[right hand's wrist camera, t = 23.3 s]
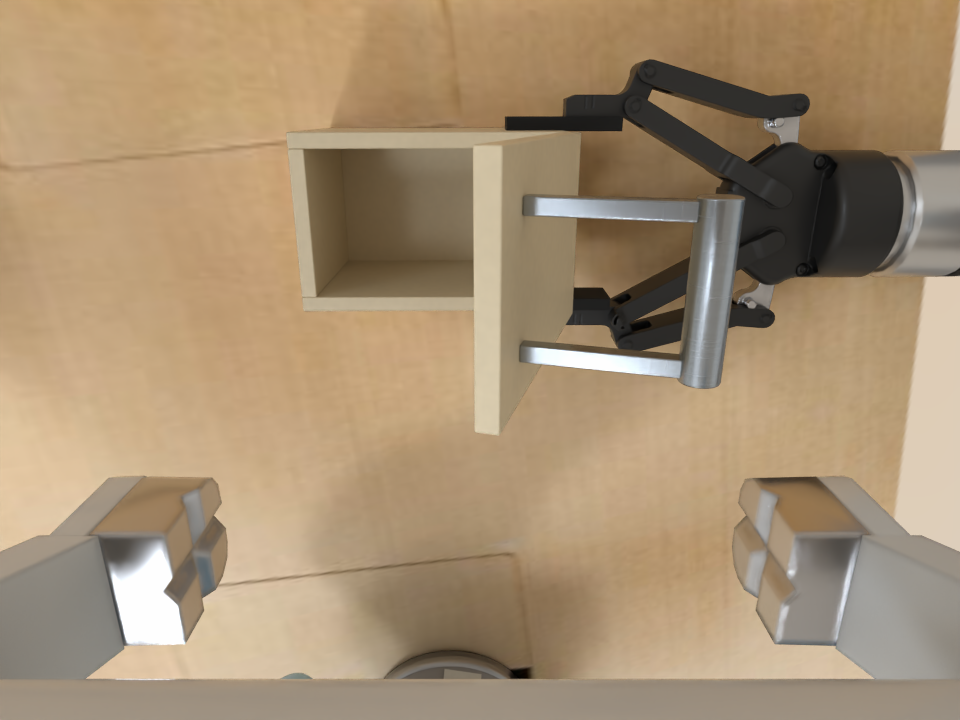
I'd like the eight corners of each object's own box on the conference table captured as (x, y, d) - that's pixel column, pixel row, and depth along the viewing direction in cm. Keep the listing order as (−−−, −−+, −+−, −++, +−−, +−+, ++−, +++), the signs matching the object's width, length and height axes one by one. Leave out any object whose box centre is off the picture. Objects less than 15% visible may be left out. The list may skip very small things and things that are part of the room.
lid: (473, 433, 24) (717, 465, 21) (472, 144, 20) (762, 147, 18) (556, 312, 38) (707, 324, 36) (563, 131, 34) (731, 132, 32)
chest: (340, 269, 49) (303, 311, 38) (329, 128, 45) (285, 132, 35) (544, 269, 49) (563, 311, 38) (549, 127, 45) (570, 131, 35)
